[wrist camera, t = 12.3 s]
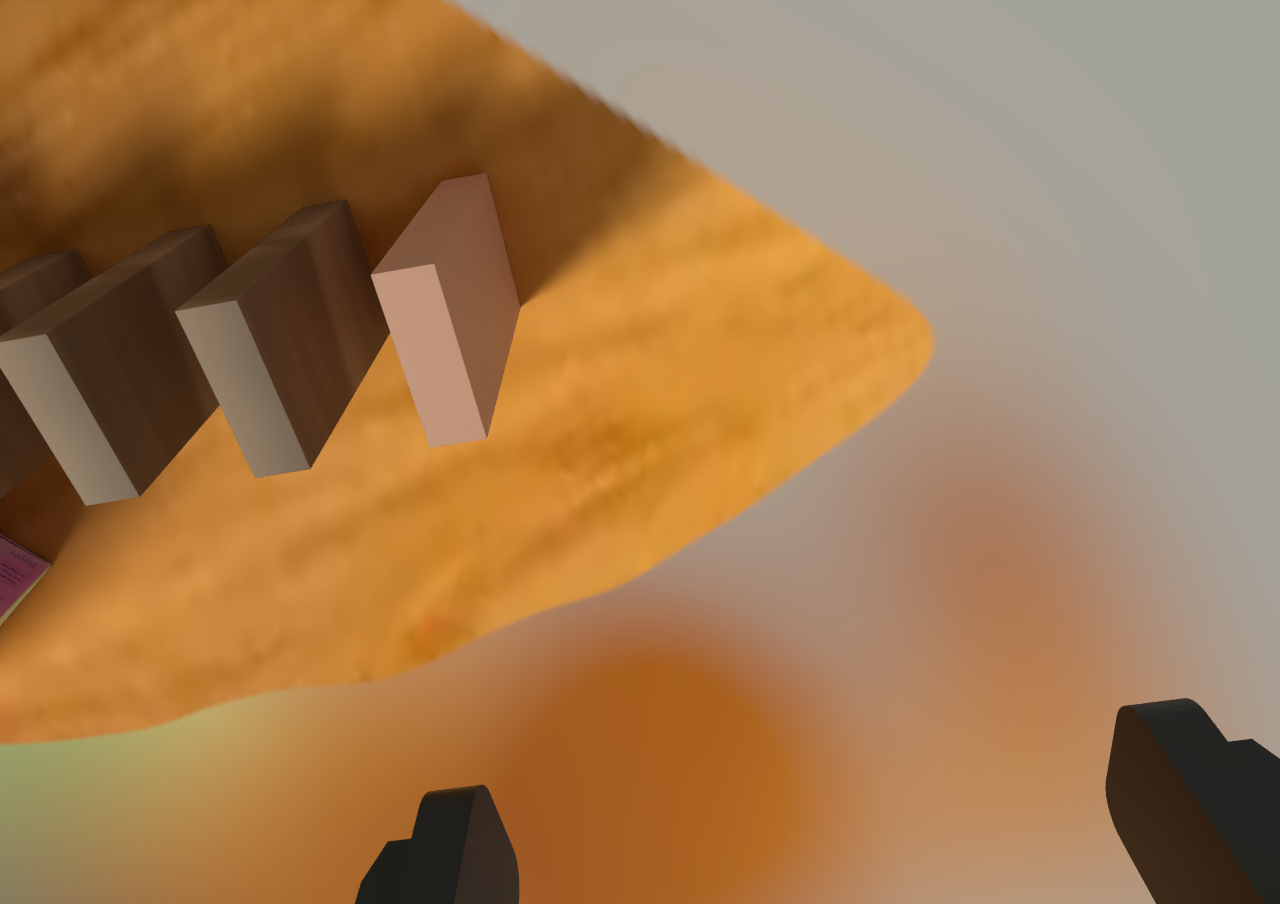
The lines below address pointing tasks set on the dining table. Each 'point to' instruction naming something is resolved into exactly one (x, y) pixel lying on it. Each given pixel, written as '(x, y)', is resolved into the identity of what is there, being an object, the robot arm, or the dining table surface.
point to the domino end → (451, 309)
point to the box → (17, 574)
